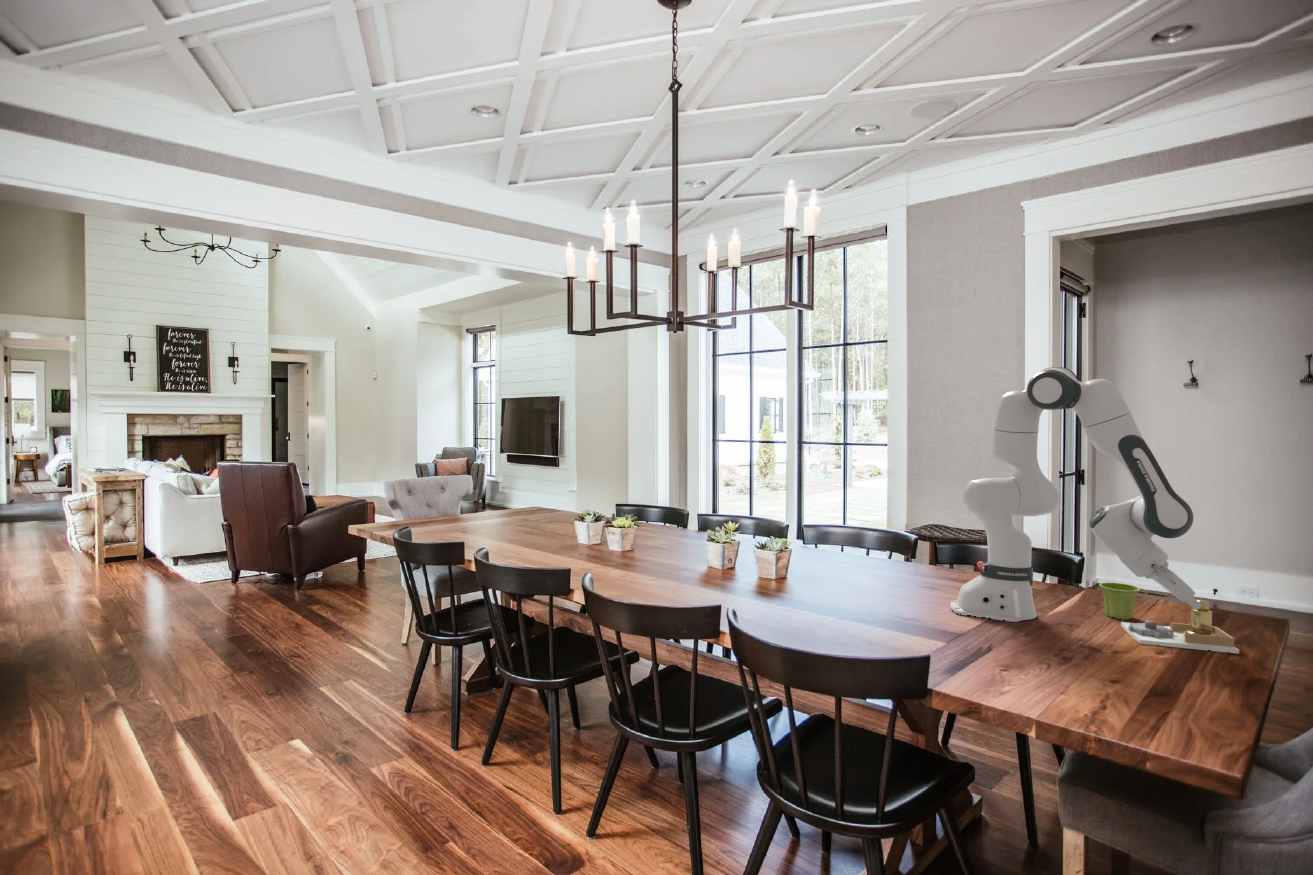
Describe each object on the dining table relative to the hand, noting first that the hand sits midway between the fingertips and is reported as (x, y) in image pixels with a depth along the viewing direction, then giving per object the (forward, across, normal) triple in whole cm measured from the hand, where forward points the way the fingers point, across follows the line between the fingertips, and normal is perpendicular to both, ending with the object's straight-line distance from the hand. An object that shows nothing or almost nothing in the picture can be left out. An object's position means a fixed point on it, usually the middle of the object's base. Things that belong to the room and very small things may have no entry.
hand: (1190, 601), depth 172 cm
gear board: (+5, 0, +9) cm, 10 cm away
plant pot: (0, +18, +15) cm, 23 cm away
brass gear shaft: (+8, -1, +5) cm, 9 cm away
